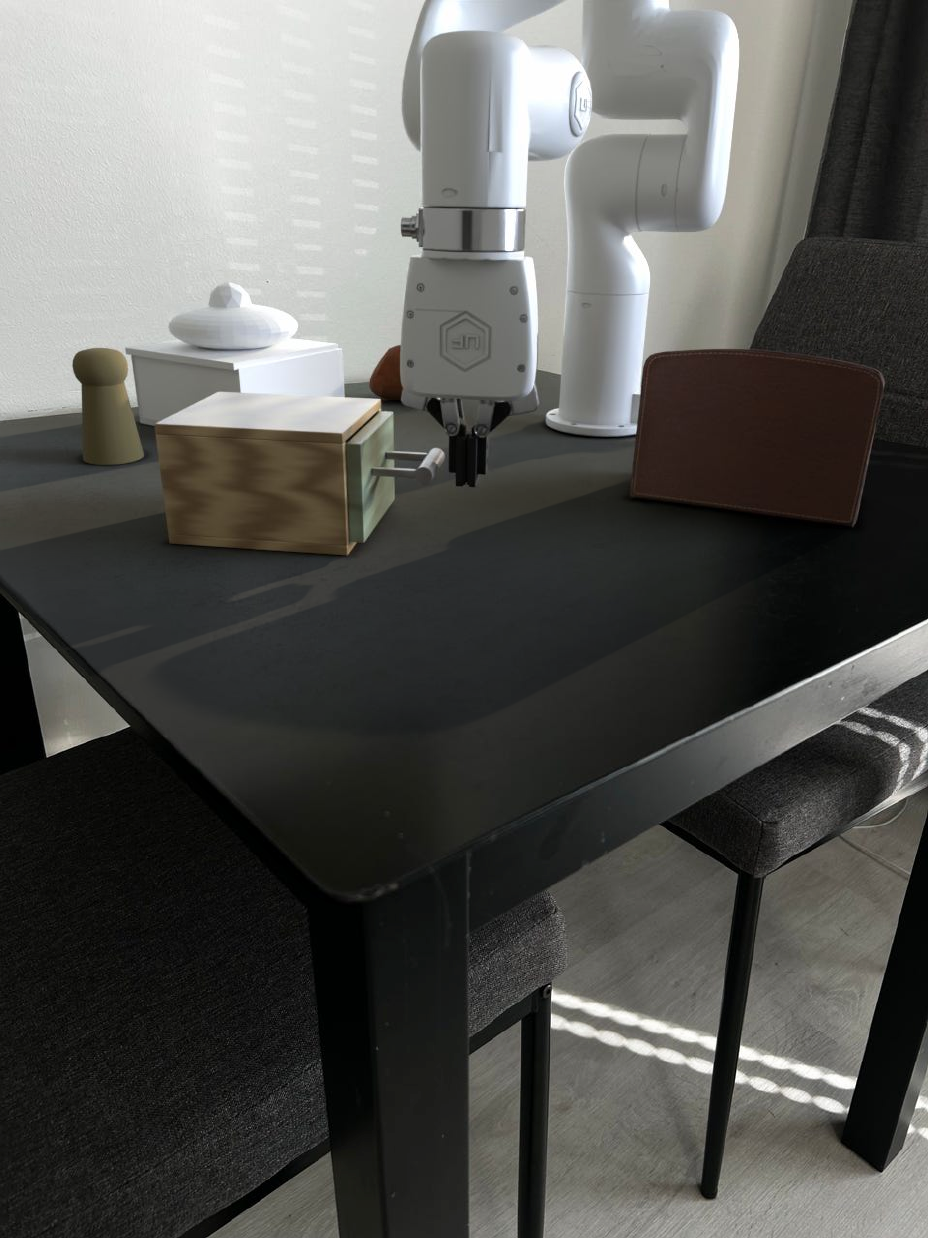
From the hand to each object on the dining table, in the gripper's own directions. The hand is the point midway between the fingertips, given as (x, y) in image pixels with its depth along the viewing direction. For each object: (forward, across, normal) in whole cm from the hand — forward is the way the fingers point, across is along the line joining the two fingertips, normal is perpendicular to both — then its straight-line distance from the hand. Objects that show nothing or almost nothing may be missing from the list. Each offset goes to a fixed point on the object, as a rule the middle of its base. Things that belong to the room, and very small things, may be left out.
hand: (468, 481), depth 73 cm
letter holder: (+5, +24, +15) cm, 29 cm away
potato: (+5, -15, +52) cm, 54 cm away
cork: (+5, -40, +17) cm, 44 cm away
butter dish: (+5, -33, +36) cm, 49 cm away
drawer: (+4, -12, 0) cm, 12 cm away
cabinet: (+5, -16, 0) cm, 16 cm away
